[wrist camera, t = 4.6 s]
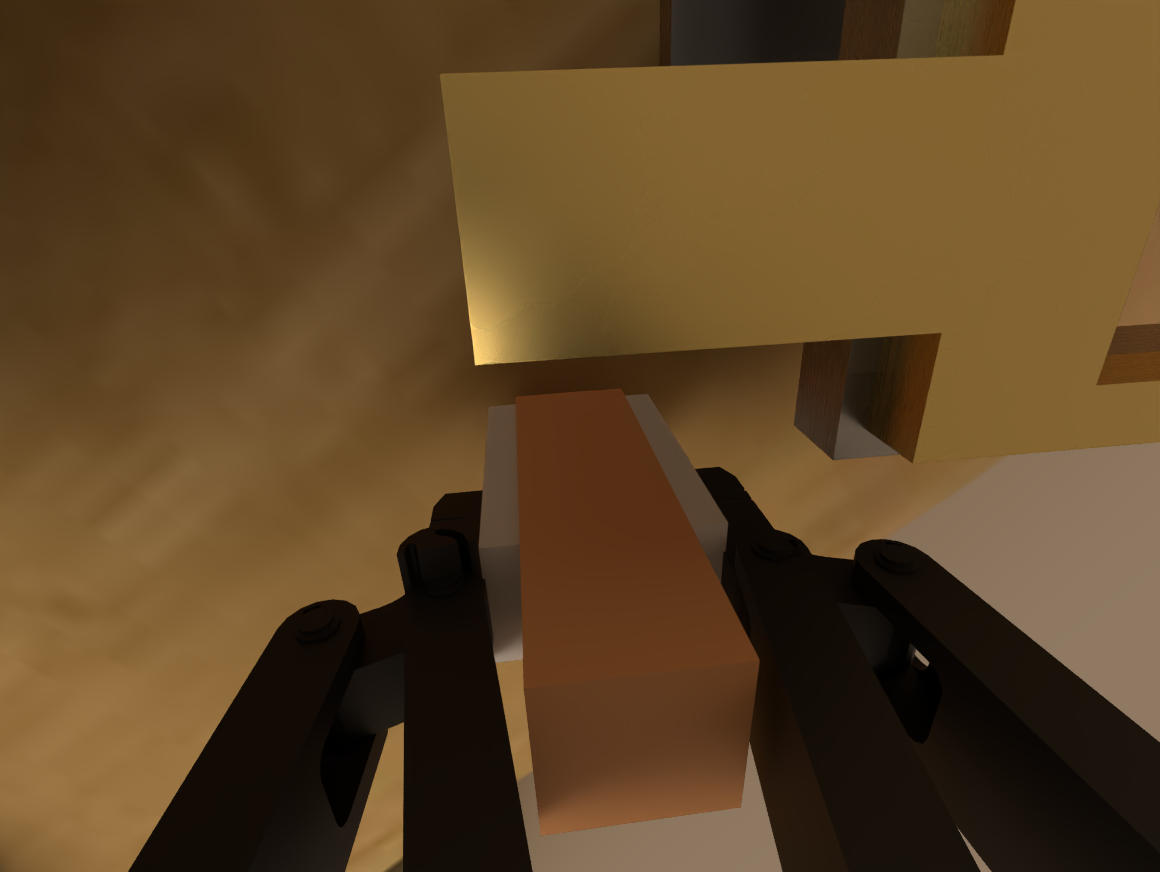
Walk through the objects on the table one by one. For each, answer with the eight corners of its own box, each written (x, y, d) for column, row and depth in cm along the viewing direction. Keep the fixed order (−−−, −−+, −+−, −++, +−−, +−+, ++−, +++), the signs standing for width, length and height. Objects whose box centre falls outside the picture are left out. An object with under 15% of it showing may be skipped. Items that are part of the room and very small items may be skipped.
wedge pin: (524, 488, 17) (540, 835, 8) (515, 396, 16) (523, 688, 7) (621, 479, 18) (740, 807, 9) (621, 388, 16) (760, 660, 7)
